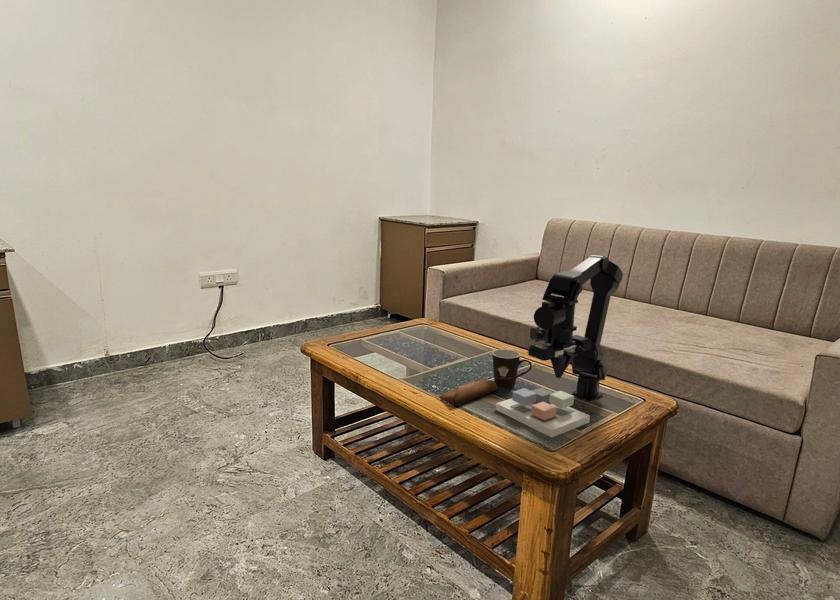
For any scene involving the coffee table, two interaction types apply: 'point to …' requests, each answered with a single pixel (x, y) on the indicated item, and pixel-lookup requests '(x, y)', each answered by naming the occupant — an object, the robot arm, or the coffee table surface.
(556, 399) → the sage key
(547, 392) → the charcoal key
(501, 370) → the coffee mug
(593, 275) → the robot arm
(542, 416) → the terracotta key
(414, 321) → the coffee table surface
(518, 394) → the slate key
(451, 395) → the sunglasses case
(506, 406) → the keypad board
